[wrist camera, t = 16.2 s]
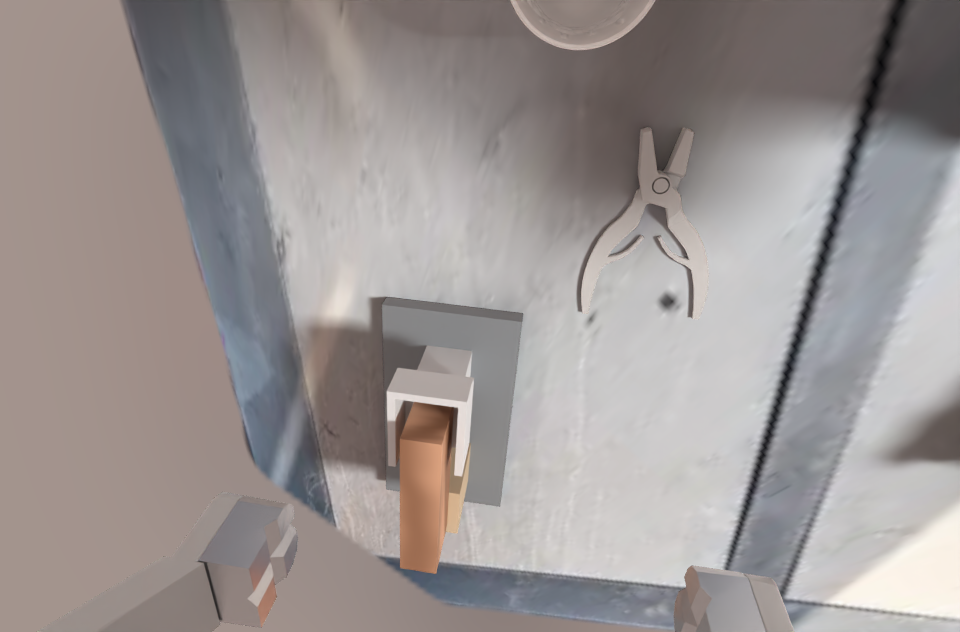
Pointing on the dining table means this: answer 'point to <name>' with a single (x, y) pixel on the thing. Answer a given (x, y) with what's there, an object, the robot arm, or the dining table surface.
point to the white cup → (581, 20)
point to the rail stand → (452, 389)
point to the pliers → (663, 193)
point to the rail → (424, 485)
